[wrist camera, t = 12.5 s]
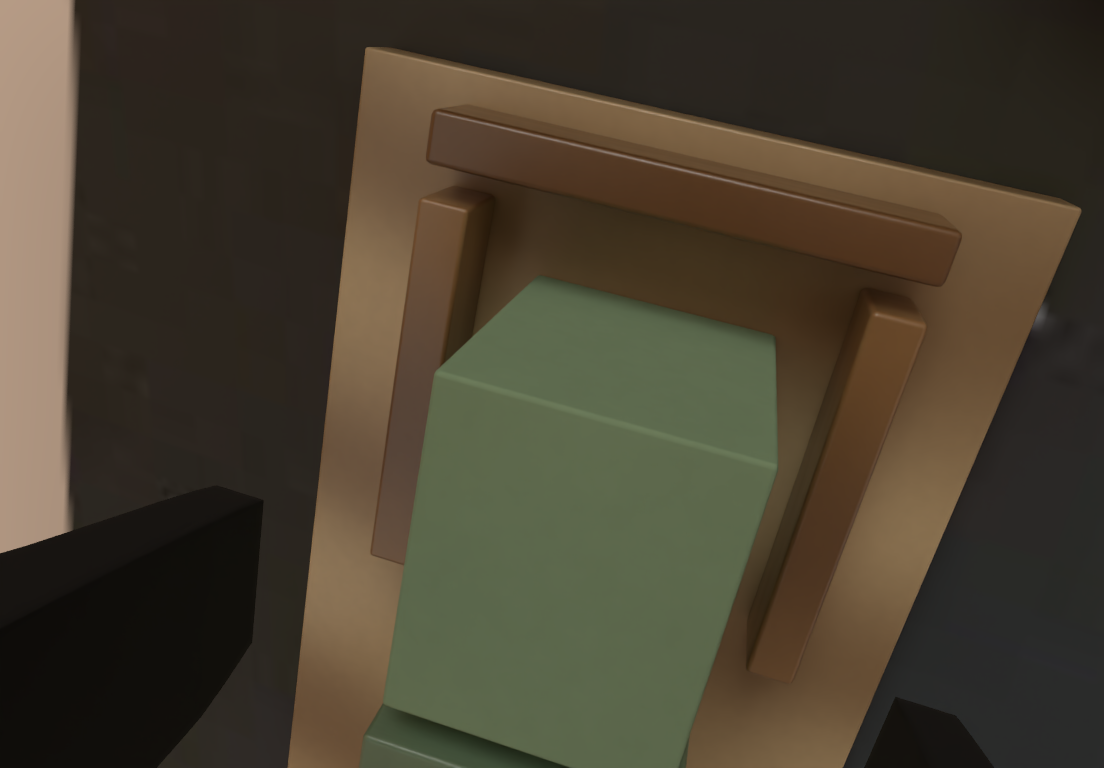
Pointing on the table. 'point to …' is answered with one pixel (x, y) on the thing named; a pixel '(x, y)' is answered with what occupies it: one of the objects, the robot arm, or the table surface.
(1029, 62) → the table surface
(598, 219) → the wooden block tray
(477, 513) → the green block
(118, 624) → the robot arm
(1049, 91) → the table surface
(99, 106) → the table surface
